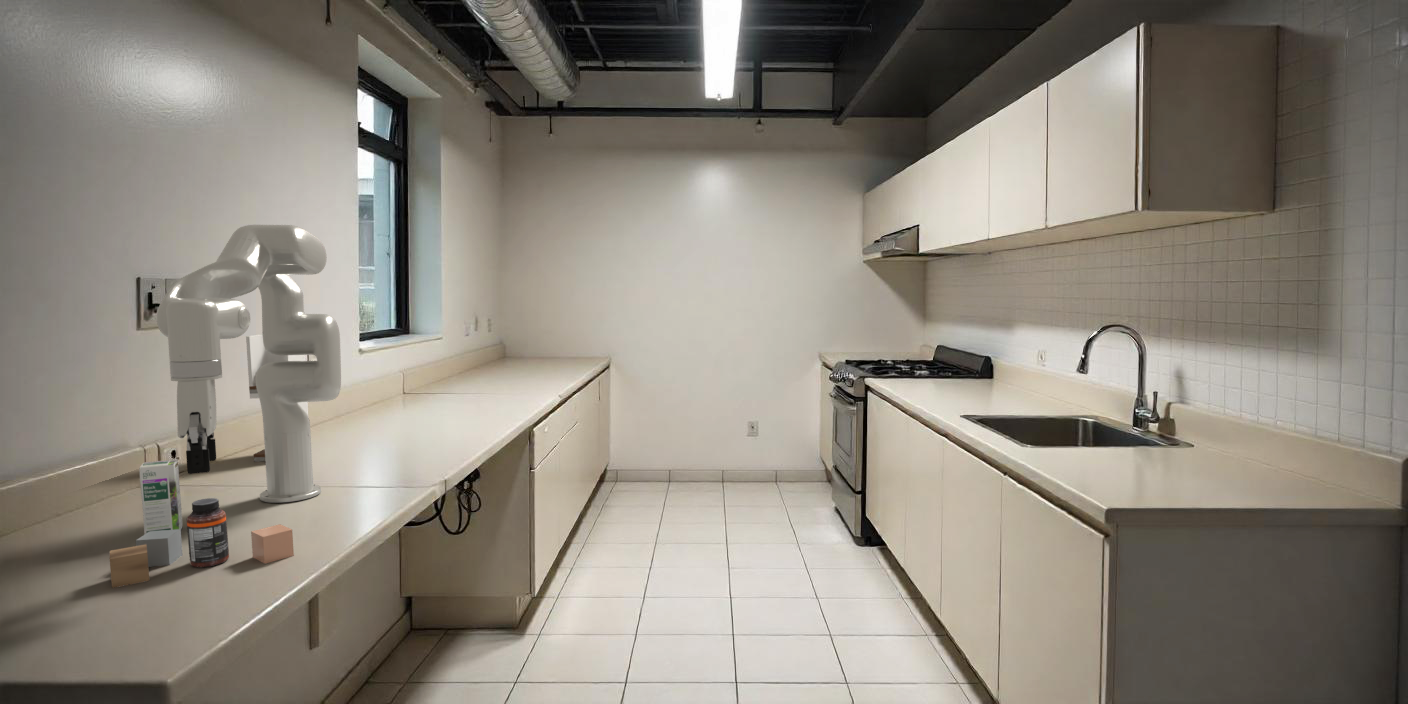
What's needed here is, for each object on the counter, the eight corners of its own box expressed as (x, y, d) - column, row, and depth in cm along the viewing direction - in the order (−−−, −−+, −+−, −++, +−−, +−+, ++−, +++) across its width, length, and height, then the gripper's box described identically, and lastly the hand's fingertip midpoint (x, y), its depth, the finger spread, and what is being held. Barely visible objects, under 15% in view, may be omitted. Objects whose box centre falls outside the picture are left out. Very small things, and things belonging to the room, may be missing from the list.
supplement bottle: (201, 556, 139) (197, 496, 138) (236, 555, 140) (232, 495, 138) (182, 569, 133) (177, 506, 132) (218, 568, 134) (213, 505, 133)
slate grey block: (151, 557, 139) (149, 531, 139) (182, 555, 140) (180, 529, 140) (137, 567, 134) (135, 540, 134) (169, 565, 135) (167, 538, 135)
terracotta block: (252, 557, 139) (251, 531, 138) (281, 550, 143) (279, 524, 142) (264, 564, 136) (263, 536, 135) (293, 556, 140) (292, 529, 139)
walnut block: (112, 579, 129) (109, 550, 129) (148, 572, 132) (146, 544, 132) (112, 588, 125) (109, 559, 125) (149, 581, 128) (147, 552, 128)
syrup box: (143, 540, 148) (138, 467, 147) (149, 531, 153) (143, 460, 152) (179, 535, 151) (173, 463, 149) (183, 526, 156) (178, 457, 155)
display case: (272, 452, 223) (265, 333, 220) (310, 451, 225) (303, 333, 221) (253, 461, 212) (246, 336, 209) (293, 460, 213) (286, 336, 210)
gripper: (178, 367, 139) (184, 459, 140) (161, 377, 124) (168, 480, 125) (226, 365, 142) (231, 455, 144) (216, 374, 127) (222, 474, 128)
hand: (202, 466), depth 134 cm, fingers open, 9 cm apart
